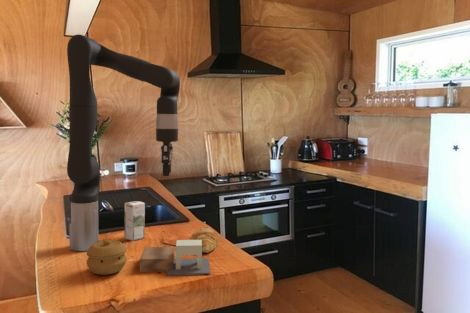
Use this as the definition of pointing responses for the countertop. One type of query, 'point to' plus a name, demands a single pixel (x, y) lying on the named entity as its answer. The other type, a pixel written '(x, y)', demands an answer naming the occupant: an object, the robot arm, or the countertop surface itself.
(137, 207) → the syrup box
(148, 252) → the tan square slab
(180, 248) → the notched cream block
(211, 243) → the croissant
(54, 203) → the countertop surface
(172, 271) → the felt pad
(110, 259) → the pot
